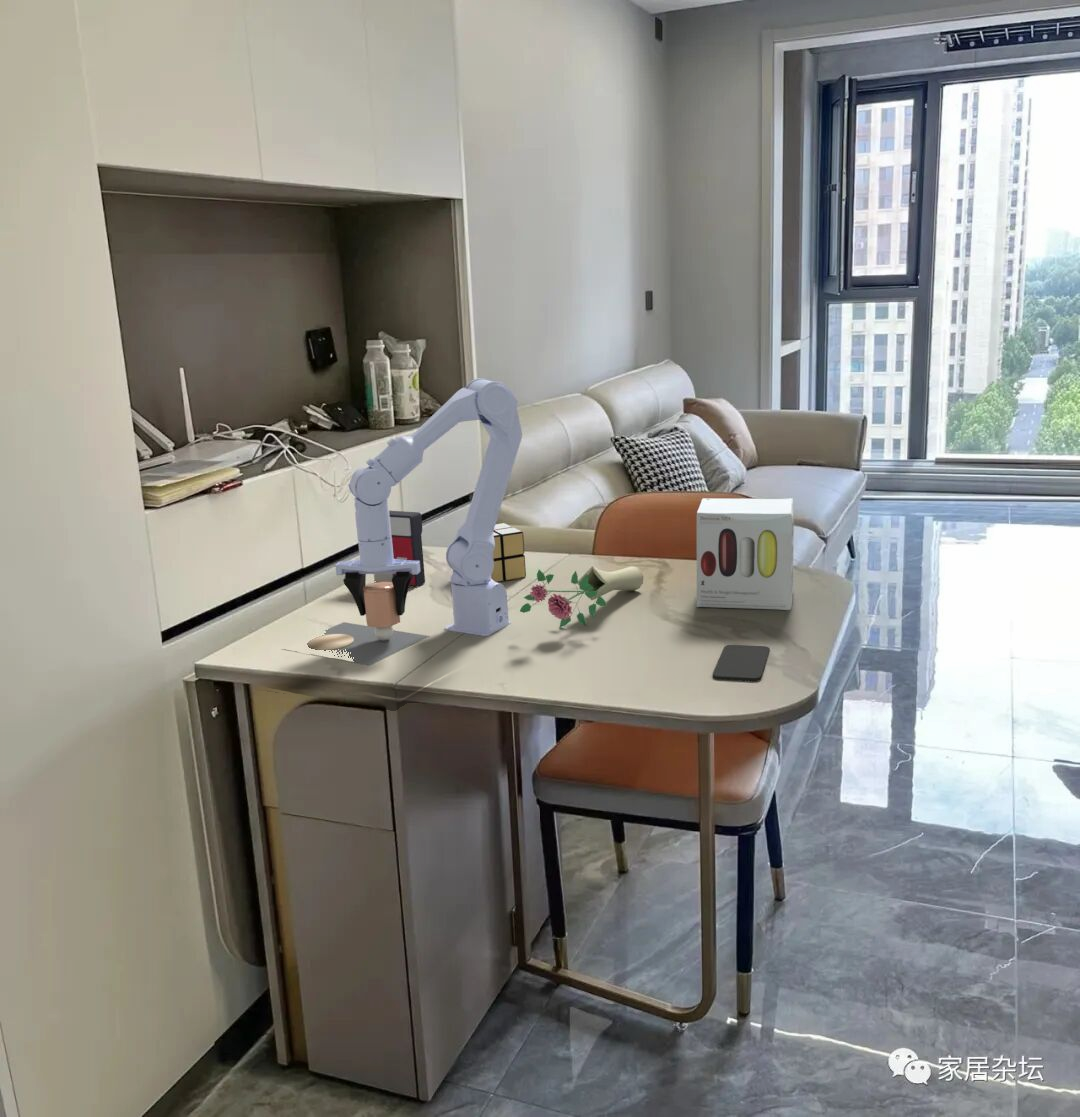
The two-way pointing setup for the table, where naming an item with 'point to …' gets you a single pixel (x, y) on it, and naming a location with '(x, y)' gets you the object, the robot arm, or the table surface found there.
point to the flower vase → (585, 590)
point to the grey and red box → (406, 543)
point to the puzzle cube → (508, 554)
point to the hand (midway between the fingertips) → (382, 613)
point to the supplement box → (745, 553)
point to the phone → (741, 663)
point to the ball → (384, 633)
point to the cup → (380, 605)
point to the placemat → (372, 642)
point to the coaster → (330, 642)
